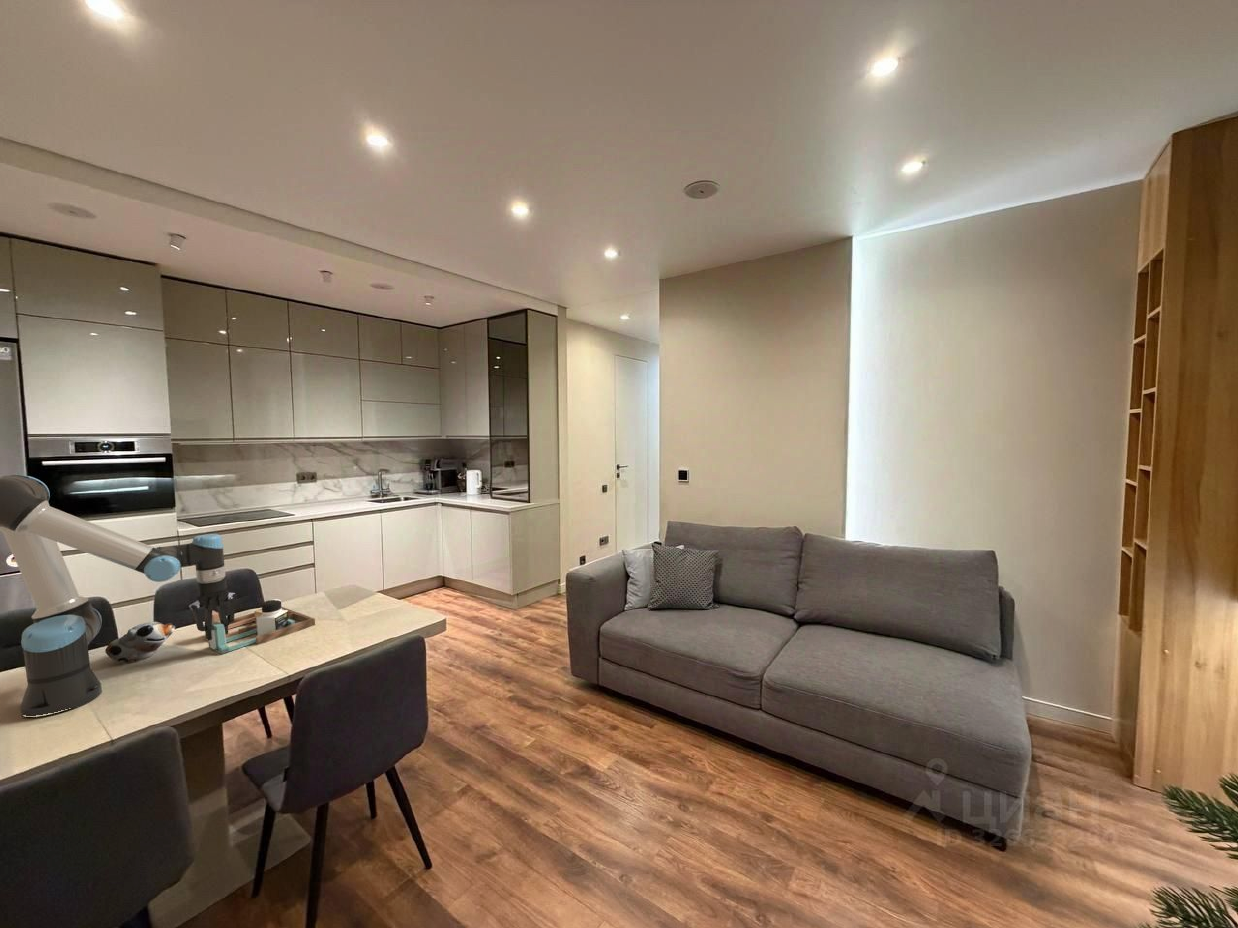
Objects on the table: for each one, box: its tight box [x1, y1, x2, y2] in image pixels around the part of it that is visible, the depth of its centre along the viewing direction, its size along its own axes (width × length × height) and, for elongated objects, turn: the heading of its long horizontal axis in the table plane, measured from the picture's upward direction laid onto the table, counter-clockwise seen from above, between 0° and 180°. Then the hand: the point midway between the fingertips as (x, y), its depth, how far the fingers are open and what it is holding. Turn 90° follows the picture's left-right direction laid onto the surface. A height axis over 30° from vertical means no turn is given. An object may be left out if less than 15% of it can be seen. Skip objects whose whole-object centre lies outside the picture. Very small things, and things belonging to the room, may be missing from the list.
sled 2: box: [208, 619, 296, 655], centre depth 177 cm, size 23×10×9 cm, turn 149°
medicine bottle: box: [256, 598, 289, 636], centre depth 183 cm, size 7×7×12 cm
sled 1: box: [212, 609, 283, 638], centre depth 188 cm, size 23×10×9 cm, turn 149°
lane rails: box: [229, 606, 316, 645], centre depth 188 cm, size 19×28×2 cm
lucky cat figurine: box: [104, 621, 176, 664], centre depth 166 cm, size 15×12×14 cm
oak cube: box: [254, 608, 262, 624], centre depth 193 cm, size 5×5×5 cm
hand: (218, 646), depth 169 cm, fingers open, 2 cm apart
